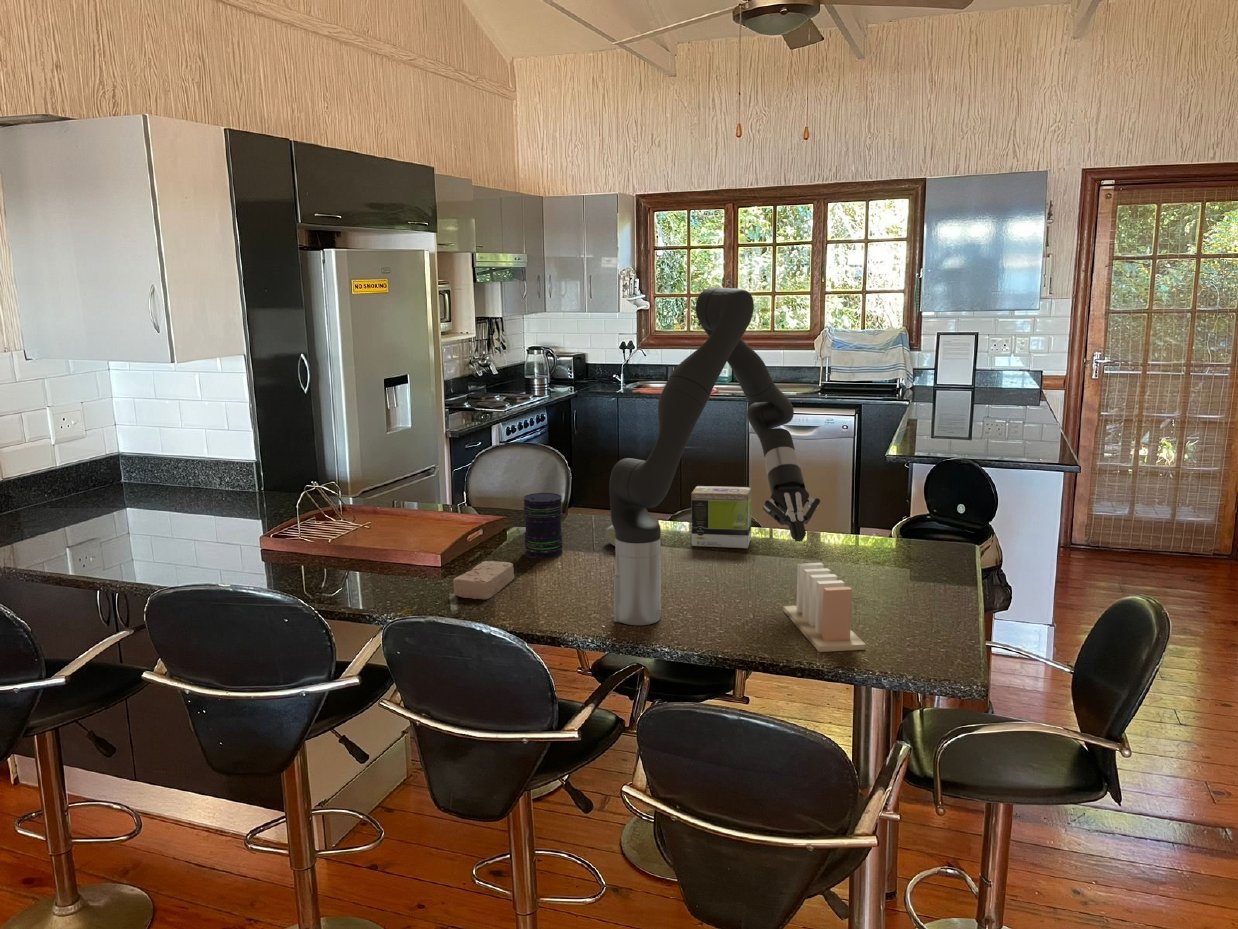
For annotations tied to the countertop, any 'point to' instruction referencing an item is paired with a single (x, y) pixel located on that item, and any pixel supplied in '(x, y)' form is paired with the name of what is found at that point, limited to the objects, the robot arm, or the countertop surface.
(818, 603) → the tile
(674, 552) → the countertop surface
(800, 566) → the tile
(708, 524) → the tea box
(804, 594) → the tile
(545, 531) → the storage jar
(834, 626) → the tile
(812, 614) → the tile
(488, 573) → the brick
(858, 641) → the domino board
